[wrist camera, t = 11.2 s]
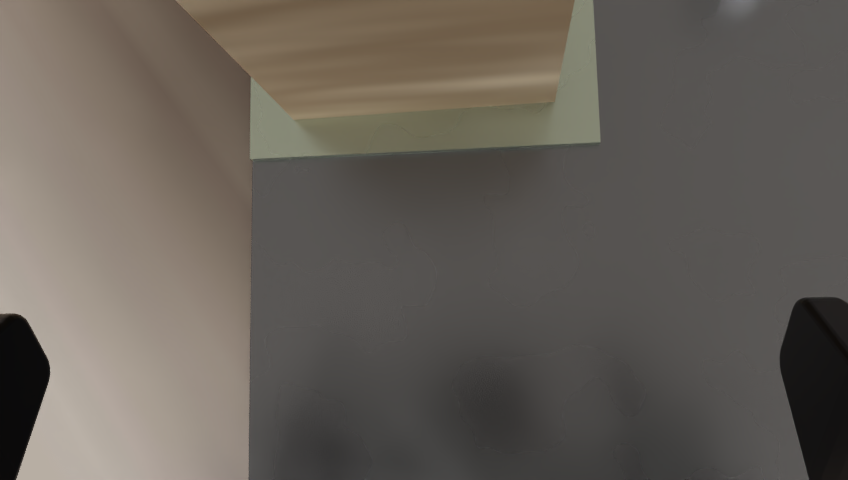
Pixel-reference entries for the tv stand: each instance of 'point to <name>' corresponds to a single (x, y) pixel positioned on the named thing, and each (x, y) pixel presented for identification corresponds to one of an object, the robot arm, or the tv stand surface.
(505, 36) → the sleeve
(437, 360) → the peg plate
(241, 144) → the tv stand surface
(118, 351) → the tv stand surface
